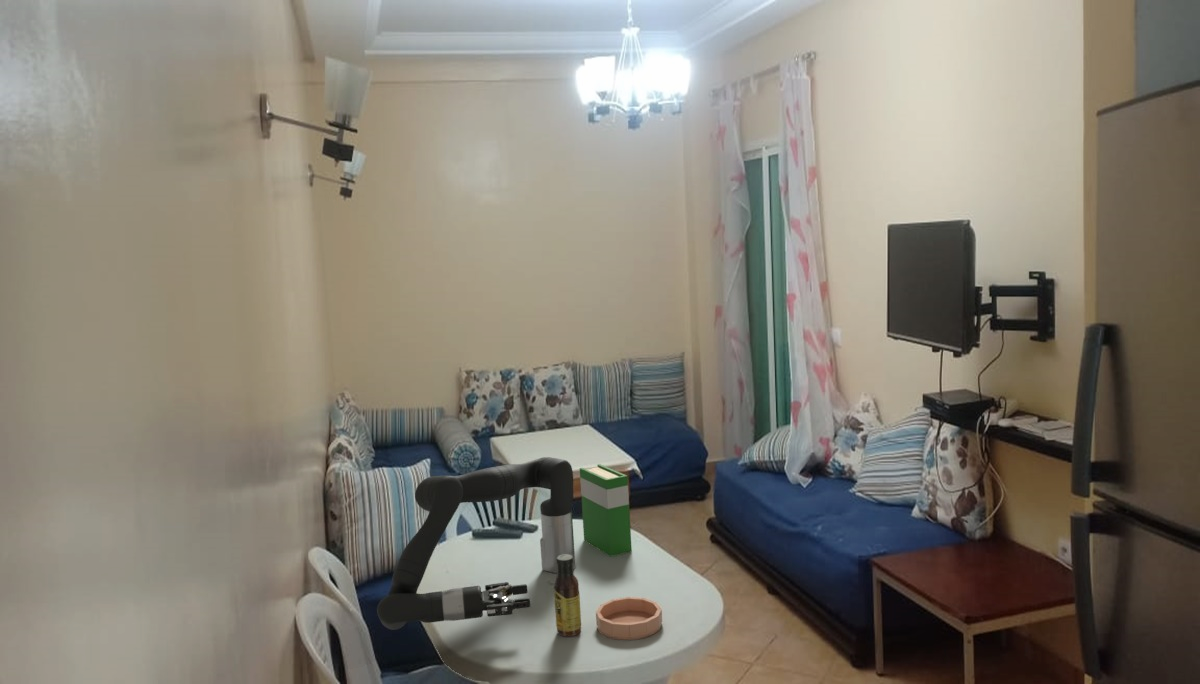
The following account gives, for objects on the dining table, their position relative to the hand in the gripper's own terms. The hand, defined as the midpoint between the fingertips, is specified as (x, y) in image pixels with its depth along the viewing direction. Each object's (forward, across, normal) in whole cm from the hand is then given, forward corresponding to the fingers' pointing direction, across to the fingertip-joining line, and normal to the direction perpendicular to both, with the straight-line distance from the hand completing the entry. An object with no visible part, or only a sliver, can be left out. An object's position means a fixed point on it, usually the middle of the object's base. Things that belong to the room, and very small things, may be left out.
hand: (528, 595), depth 222 cm
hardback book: (+29, +58, +11) cm, 66 cm away
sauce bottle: (+9, 0, +11) cm, 15 cm away
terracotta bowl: (+25, 0, +11) cm, 27 cm away
